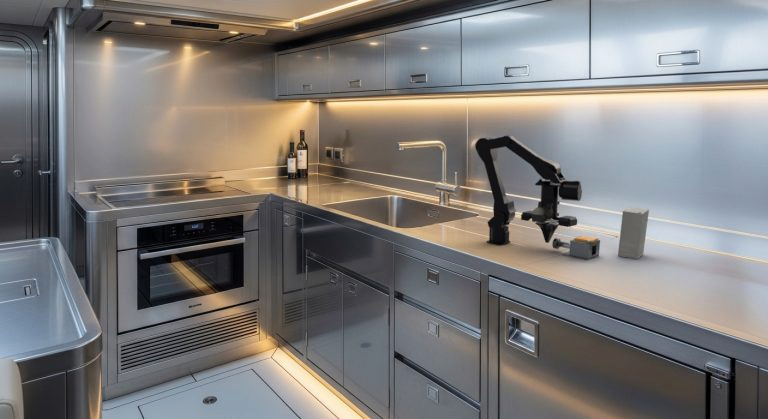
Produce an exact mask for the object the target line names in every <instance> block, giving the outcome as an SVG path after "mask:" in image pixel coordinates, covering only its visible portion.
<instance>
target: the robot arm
mask: <svg viewBox="0 0 768 419" xmlns="http://www.w3.org/2000/svg"><path fill="white" fill-rule="evenodd" d="M474 146H475V151H476V152H477V155H478V157H479V158H480V160H481V161H482V162H483V165H484V169H485V172H486V174H487V179H488V182H489V187H490V190H491V194H492V198H493V207H492V210H493V212H492V213H493V216H492V217H491V218H490V219H489V220H488V221H487V226H488V228H489V229H488V230H489V232H488V233H489V235H488V236H489V238H488V240H486V243H489V244H493V245H500V246H502V245H505V244H509V243H511V240H510V230H509V225H510V223H511V221H514V219H515V217H516V212H517V209H516V207H515V202H514V200H511V201H510V200H509V199H508V197H507V194H506V191H505V186H504V184H503V179H502V176H501V172H500V171H501V170H500V168H499V165H498V160H497V158H498V149H501V148H502V149H503V148H506V149H508V150H509V151H511V152H513V153H514V154H515V155H517V156H518V157H519V158H520V159H522V160H524V161H525V162H526V163H528V164H530V165H531V167H532V168H533V169H534V170H535V172H536V173H537V175H539V176H540V177H541V178H539V180H538V181H537V182H536V183H535V184H534V185H535V186H540V188H541V189H540V201H538V203H537V207H535V208H534V209H533V210H527V211H523V212H522V213H521V215H520V220H521V221H525V222H526V221H527V222H529V221H530V220H531V221H532V222H533V223H535V225H537V226H539V228H540V231H541V233H542V236H543V240H544V241H545V242H544V243H547V244H548V243H550V241H551V240H552V237H553V235H554V233H555V232H556V230H557V229H558V228H559V226H560V227H567V228H571V227H574V226H577V225H578V218H577V216H572V215H562V216H560V212H558V208H559V207H558V205H560V204H561V202H560V201H559V198H561V200H563V201H575V202H580V201H581V199H582V196H583V195H582V194H583V189H582V185H581V180H567V178H566V177H565V175H564V174H563V173H562V169H561V165H560V164H559V163H558V162H555V161H553V160H551V159H549V158H546V157H544V156H541V155H540V154H538V153H536V152H535V151H533V150H532V149H530V148H529V147H528V146H526V145H525V144H524V143H522V142H521V141H519V140H518V139H517V138H515V137H514V136H513V135H512V134H511V135H509V134H508V135H503V136H500V137H495V138H493V137H480V138H478V139H477V141H476V142H475V145H474ZM559 216H560V217H559Z"/></svg>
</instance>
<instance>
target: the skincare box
mask: <svg viewBox="0 0 768 419" xmlns="http://www.w3.org/2000/svg"><path fill="white" fill-rule="evenodd" d="M649 213H650V209H647V208H641V207H635V206H629V207H627V208H626V209H624V210H622V216H621V224H620V225H621V226H620V235H619V242H618V250H617V256H618V257H624V258H628V259H635V260H638V259H639V258H640V257H642V256H643V254H644V253H645V252H644V251H645V242H646V236H647V228H648V220H649Z"/></svg>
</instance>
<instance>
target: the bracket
mask: <svg viewBox="0 0 768 419" xmlns="http://www.w3.org/2000/svg"><path fill="white" fill-rule="evenodd" d="M595 238H598V236H597V237H595ZM569 243H570V249H569V250H568V251H566V252H563V253H562V254H561V255H562V256H565V257H571V258H575V259H580V260H586V261H589V260H592V259H595V258H598V257H599V256H600V250H601V248H600V245H601V240H600V239H599V238H598V241H595V242H592V243H591V242H590V240H588V241H587V242H584V241H577V240H574V239H571V240H569Z"/></svg>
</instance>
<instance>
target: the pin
mask: <svg viewBox="0 0 768 419" xmlns="http://www.w3.org/2000/svg"><path fill="white" fill-rule="evenodd" d="M551 244H552V248H553V249H557V250H559V249H560V248H564V249H568V250H570V242H567V241H566V242H565V241H561V238H558V237H557V238H556V237H555V238H553V240H552V243H551Z"/></svg>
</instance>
